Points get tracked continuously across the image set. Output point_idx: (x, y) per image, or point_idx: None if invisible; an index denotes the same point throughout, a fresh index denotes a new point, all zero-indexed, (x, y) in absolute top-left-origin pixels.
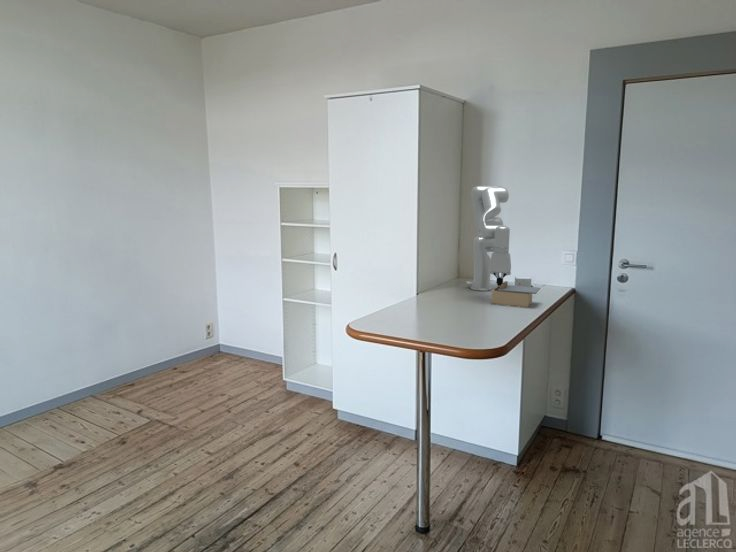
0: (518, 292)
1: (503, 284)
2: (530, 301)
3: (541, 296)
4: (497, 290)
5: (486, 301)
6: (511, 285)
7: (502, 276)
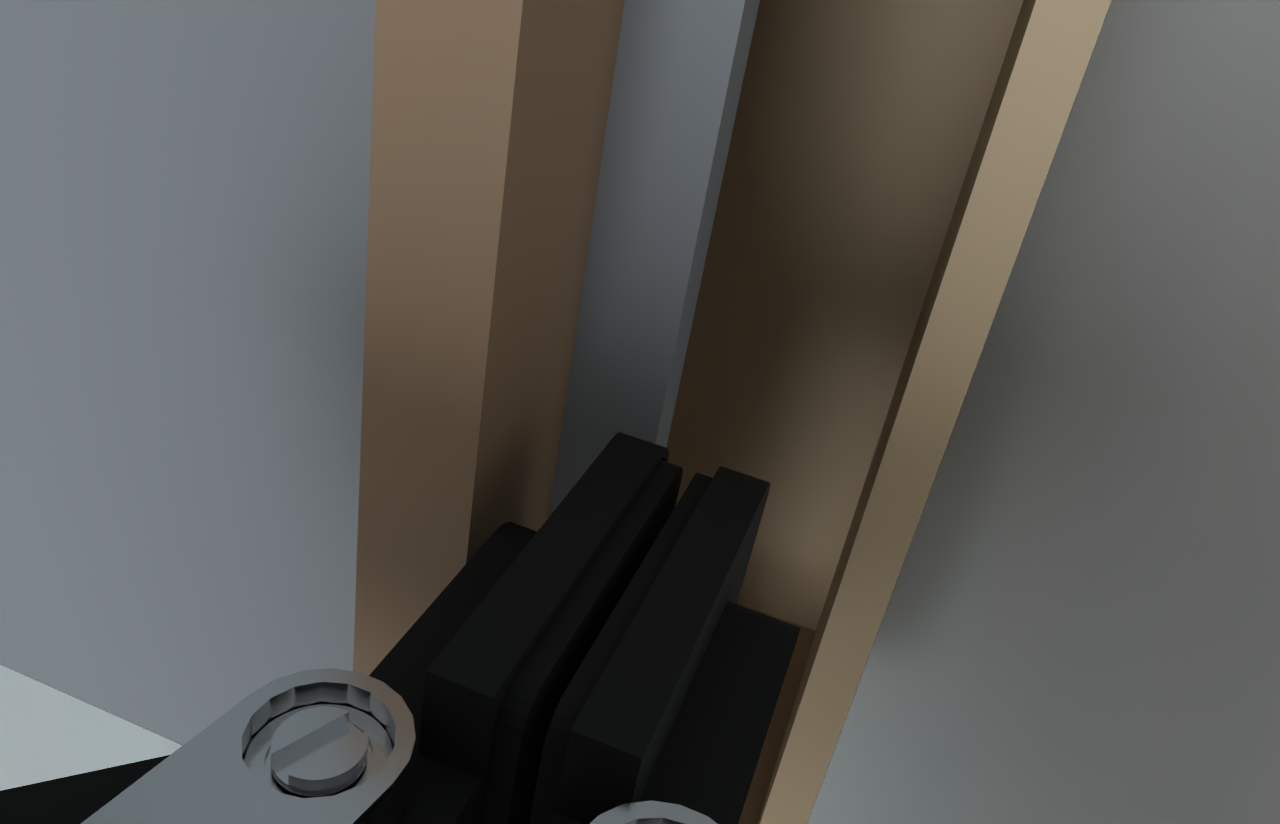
0: None
1: (392, 182)
2: None
3: None
4: (801, 689)
5: (1214, 301)
6: None
7: (219, 781)
